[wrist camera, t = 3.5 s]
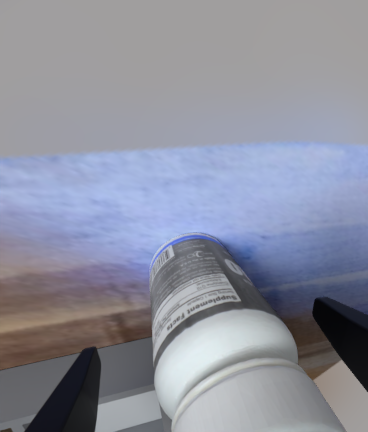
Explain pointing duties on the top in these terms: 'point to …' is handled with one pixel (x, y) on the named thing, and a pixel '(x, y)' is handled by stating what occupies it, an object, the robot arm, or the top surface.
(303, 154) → the top surface
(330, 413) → the pill bottle
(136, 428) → the bay dish
